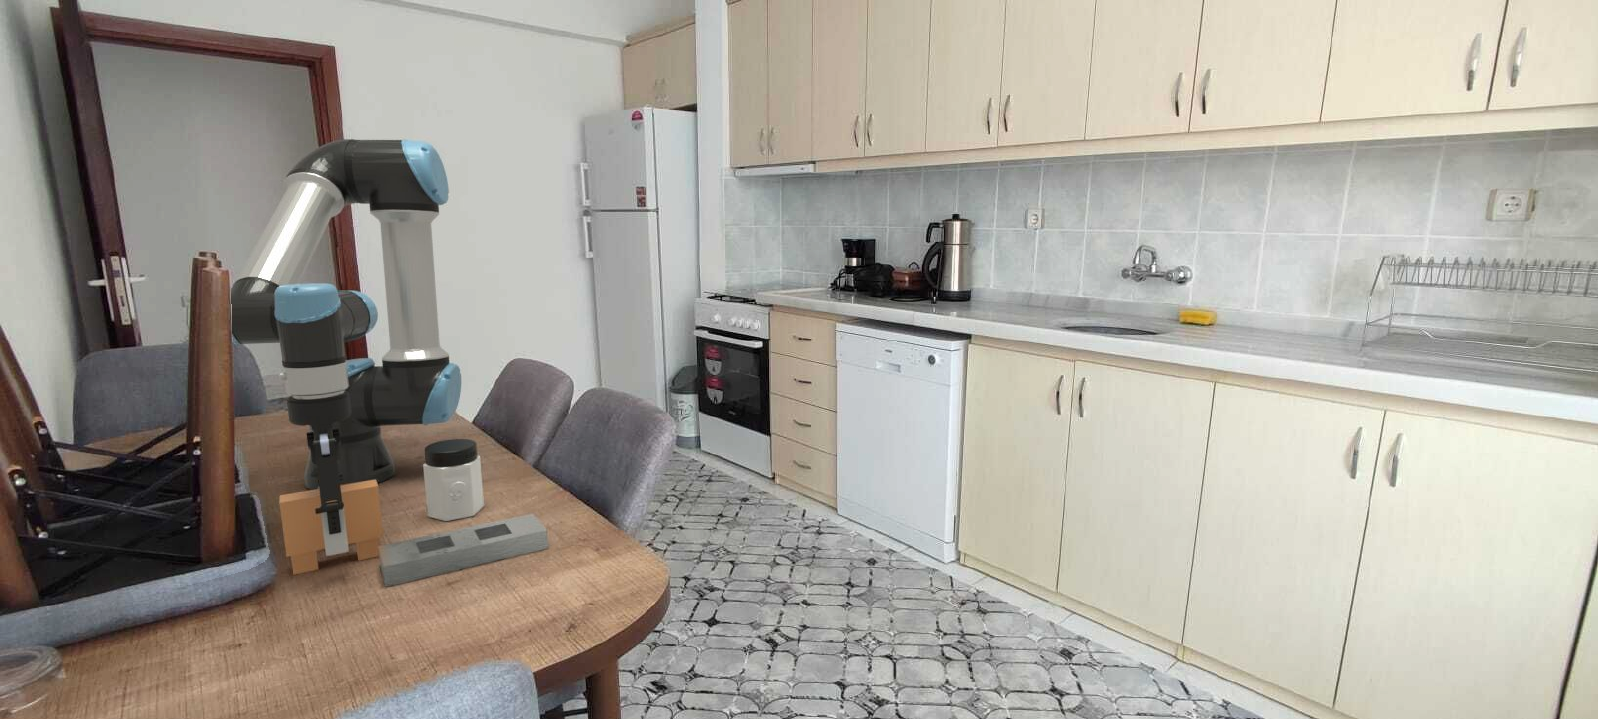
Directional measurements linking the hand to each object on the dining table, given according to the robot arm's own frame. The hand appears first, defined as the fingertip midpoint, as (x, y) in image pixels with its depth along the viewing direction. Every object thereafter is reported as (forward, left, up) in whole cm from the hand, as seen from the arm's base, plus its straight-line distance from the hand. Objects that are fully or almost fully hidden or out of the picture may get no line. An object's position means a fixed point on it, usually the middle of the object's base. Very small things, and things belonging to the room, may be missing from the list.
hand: (335, 539), depth 108 cm
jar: (-11, +18, -4) cm, 21 cm away
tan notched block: (0, 0, -4) cm, 4 cm away
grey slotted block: (+9, +16, -4) cm, 19 cm away
